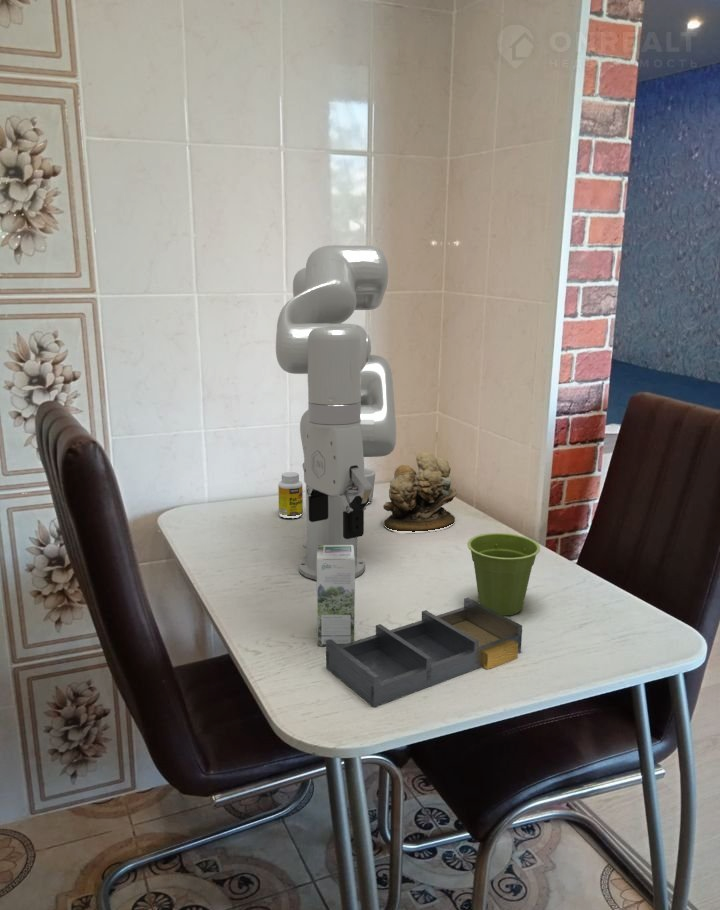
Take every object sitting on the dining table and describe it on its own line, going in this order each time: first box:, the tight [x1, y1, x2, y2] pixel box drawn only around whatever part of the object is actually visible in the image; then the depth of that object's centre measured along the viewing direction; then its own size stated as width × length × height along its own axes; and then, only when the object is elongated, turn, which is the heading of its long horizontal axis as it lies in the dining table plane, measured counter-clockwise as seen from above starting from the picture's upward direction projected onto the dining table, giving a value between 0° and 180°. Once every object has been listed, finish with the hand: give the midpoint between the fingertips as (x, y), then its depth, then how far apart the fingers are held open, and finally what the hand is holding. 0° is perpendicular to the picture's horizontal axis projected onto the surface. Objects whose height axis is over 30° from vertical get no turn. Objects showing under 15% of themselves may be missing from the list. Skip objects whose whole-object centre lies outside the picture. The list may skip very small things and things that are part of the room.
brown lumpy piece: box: [383, 451, 458, 532], centre depth 167 cm, size 18×12×17 cm, turn 117°
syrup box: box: [316, 545, 356, 647], centre depth 114 cm, size 6×6×14 cm
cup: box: [364, 467, 376, 502], centre depth 184 cm, size 11×8×8 cm
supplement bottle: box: [277, 471, 304, 516], centre depth 173 cm, size 6×6×10 cm
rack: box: [325, 597, 523, 708], centre depth 108 cm, size 13×27×4 cm, turn 124°
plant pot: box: [467, 532, 541, 617], centre depth 125 cm, size 12×12×11 cm
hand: (335, 528), depth 111 cm, fingers open, 9 cm apart
